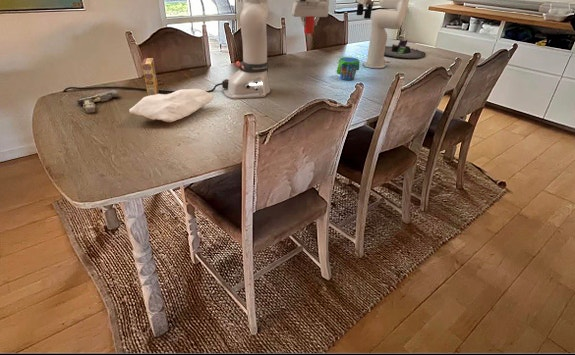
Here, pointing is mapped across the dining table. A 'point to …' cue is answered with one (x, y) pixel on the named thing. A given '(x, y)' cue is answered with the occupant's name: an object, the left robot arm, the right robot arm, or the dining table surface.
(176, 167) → the dining table surface
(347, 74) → the snack cup
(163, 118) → the crumpled cloth
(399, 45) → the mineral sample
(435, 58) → the dining table surface
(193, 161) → the dining table surface
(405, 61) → the dining table surface
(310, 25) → the canister
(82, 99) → the handgun
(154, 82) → the candy box
